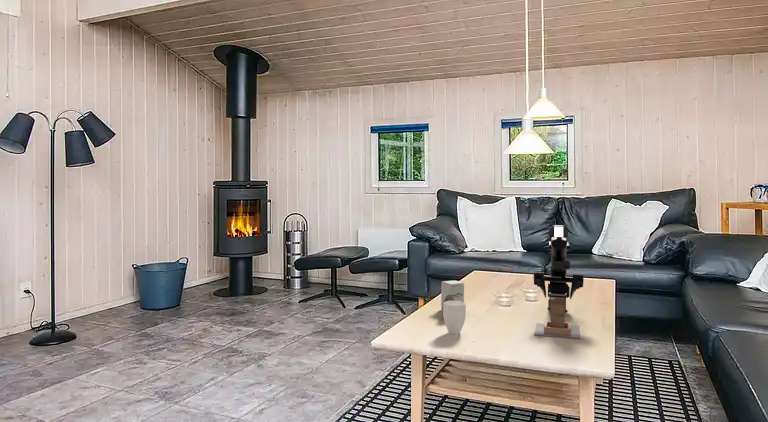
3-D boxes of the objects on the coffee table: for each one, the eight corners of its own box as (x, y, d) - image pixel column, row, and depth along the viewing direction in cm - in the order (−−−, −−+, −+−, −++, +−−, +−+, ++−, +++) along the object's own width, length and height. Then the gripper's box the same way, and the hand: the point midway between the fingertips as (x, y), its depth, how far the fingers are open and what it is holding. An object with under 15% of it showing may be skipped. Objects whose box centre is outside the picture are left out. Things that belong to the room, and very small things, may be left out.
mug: (463, 337, 197) (463, 306, 197) (440, 335, 200) (440, 304, 199) (469, 328, 208) (469, 299, 208) (448, 326, 211) (448, 297, 211)
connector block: (550, 327, 207) (551, 297, 206) (564, 329, 206) (564, 297, 205) (550, 331, 202) (550, 299, 202) (564, 332, 201) (564, 300, 200)
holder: (536, 324, 214) (536, 318, 214) (579, 327, 209) (579, 321, 209) (534, 335, 199) (534, 328, 199) (580, 339, 194) (580, 332, 194)
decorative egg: (456, 316, 226) (456, 293, 226) (457, 320, 220) (457, 296, 220) (441, 316, 227) (441, 292, 226) (442, 320, 221) (442, 296, 220)
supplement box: (450, 313, 232) (450, 284, 231) (440, 309, 239) (440, 281, 238) (464, 311, 235) (464, 282, 235) (454, 307, 242) (454, 279, 241)
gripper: (534, 252, 216) (532, 284, 206) (583, 253, 210) (584, 287, 200) (534, 268, 224) (533, 300, 214) (582, 270, 218) (583, 303, 208)
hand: (557, 297), depth 209 cm, fingers open, 9 cm apart
